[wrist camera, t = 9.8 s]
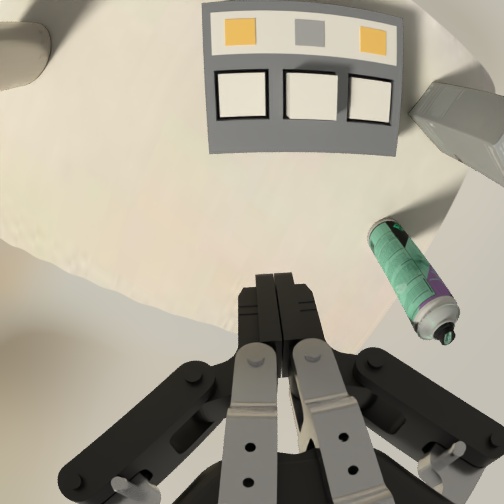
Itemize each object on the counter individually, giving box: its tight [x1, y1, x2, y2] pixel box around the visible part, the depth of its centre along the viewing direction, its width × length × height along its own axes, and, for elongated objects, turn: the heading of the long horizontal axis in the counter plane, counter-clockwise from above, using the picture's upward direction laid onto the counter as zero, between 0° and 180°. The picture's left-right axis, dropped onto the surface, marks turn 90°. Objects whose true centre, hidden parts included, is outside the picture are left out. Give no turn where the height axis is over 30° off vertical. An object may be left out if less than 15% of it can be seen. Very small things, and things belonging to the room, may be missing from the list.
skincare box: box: [409, 82, 504, 187], centre depth 25 cm, size 8×7×16 cm
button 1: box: [347, 77, 391, 122], centre depth 28 cm, size 4×4×3 cm
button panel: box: [202, 0, 403, 157], centre depth 27 cm, size 20×16×5 cm
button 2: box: [218, 73, 266, 117], centre depth 28 cm, size 4×4×3 cm
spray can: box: [367, 219, 460, 345], centre depth 33 cm, size 6×6×20 cm
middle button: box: [286, 73, 338, 120], centre depth 26 cm, size 4×4×3 cm
